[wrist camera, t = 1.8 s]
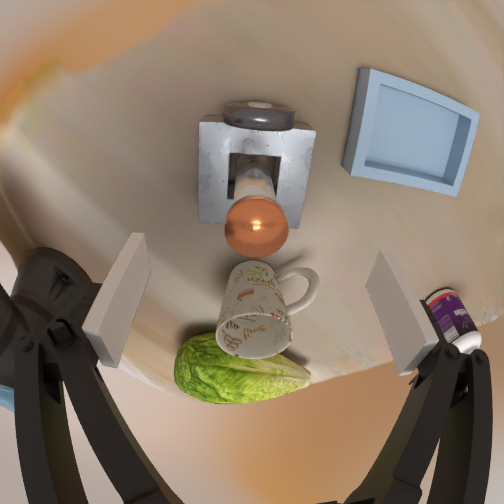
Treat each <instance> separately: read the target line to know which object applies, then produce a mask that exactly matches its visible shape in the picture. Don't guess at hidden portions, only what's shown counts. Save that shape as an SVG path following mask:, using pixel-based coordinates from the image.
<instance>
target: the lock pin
mask: <svg viewBox="0 0 504 504" xmlns="http://www.w3.org/2000/svg"><path fill="white" fill-rule="evenodd" d="M288 231H289V230H288V223H287V219H286V215H285V212H284V210H283V208H282V207H281V205H280V204H279V203H278V202H277V201H276V197H275V192H274V187H273V183H272V178H271V174H270V169H269V165H268V161H267V158H266V156H265V155H258V154H244V153H242V154H241V155H240V156H239V158H238V161H237V168H236V179H235V190H234V201H233V205H232V206H231V207H230V209H229V210H228V213H227V216H226V222H225V237H226V240H227V242H228V244H229V245H230V246H231V247H232V249H234V250H235V251H236V252H238V253H240V254H242V255H244V256H248V257H264V256H268V255H270V254H273V253H274V252H276V251H277V250H279V249H280V248H281V247H282V246H283V244H284V243H285V241H286V239H287V236H288Z"/></svg>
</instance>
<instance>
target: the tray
mask: <svg viewBox="0 0 504 504" xmlns="http://www.w3.org/2000/svg"><path fill="white" fill-rule="evenodd" d="M479 116H480V113H478V112H476V111H474V110H472V109H470V108H469V107H467V106H465V105H463V104H461V103H459V102H457V101H455V100H452V99H450V98H448V97H446V96H444V95H442V94H439V93H437V92H435V91H432V90H430V89H428V88H425V87H423V86H420V85H418V84H415V83H413V82H410V81H407V80H404V79H402V78H399V77H396V76H393V75H390V74H387V73H384V72H381V71H377V70H374V69H370V68H359V71H358V77H357V84H356V91H355V97H354V103H353V109H352V115H351V120H350V126H349V131H348V136H347V141H346V147H345V151H344V156H343V161H342V166H343V168H344V169H345V170H346V171H347V172H348V173H349V174H350V175H351V176H357V177H363V178H369V179H375V180H381V181H386V182H391V183H397V184H402V185H407V186H411V187H416V188H421V189H425V190H430V191H434V192H438V193H443V194H447V195H451V196H455V197H456V196H457V193H458V191H459V188H460V185H461V182H462V179H463V176H464V173H465V170H466V166H467V163H468V160H469V156H470V153H471V149H472V145H473V141H474V138H475V134H476V129H477V125H478V120H479Z"/></svg>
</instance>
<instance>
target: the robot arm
mask: <svg viewBox="0 0 504 504" xmlns="http://www.w3.org/2000/svg"><path fill="white" fill-rule="evenodd" d="M150 274H151V270H150V264H149V258H148V252H147V246H146V239H145V233H131V235H130V237H129V238H128V240H127V242H126V243H125V245H124V247H123V248H122V250H121V252H120V254H119V255H118V257H117V259H116V261H115V263H114V264H113V266H112V268H111V270H110V272H109V274H108V275H107V277H106V279H105V281H104V283H103V284H100V283H94V284H92V282H91V281H90V279H89V278H88V276H87V275H86V274H85V272H84V271H83V270H82V269H81V268H80V267H79V266H78V265H77V264H76V263H75V262H73V261H72V260H71V259H69V258H68V257H67V256H65V255H63V254H61V253H59V252H57V251H55V250H52V249H48V248H36V249H33V250H32V251H30V252H29V253H28V254H27V256H26V257H25V258H24V259H23V261H22V262H21V264H20V266H19V270H18V276H17V278H16V281H15V284H14V287H13V290H12V293H11V296H10V297H9V296H8V294H7V293H6V291H5V290H4V288H3V287H2V285H1V283H0V405H1V406H3V407H4V408H6V409H8V410H10V411H12V412H14V413H15V426H16V438H17V446H18V454H19V460H20V466H21V472H22V477H23V482H24V486H25V490H26V495H27V498H28V502H29V504H88V500H87V498H86V495H85V491H84V488H83V485H82V482H81V478H80V475H79V471H78V467H77V463H76V459H75V455H74V451H73V446H72V441H71V437H70V431H69V426H68V420H67V413H66V406H65V399H64V390H63V381H64V384H65V386H66V389H67V392H68V394H69V397H70V400H71V402H72V405H73V407H74V410H75V412H76V414H77V416H78V419H79V421H80V424H81V425H82V428H83V430H84V432H85V434H86V436H87V438H88V441H89V443H90V445H91V447H92V449H93V451H94V452H95V454H96V456H97V458H98V460H99V462H100V464H101V465H102V467H103V469H104V471H105V472H106V474H107V476H108V477H109V479H110V481H111V482H112V484H113V485H114V487H115V489H116V490H117V492H118V493H119V495H120V496H121V498H122V500H123V502H124V504H184V503H183V502H182V500H181V499H180V498H179V497H178V496H177V495H176V494H175V493H174V492H173V491H172V490H171V488H170V487H169V486H168V485H167V483H166V482H165V481H164V479H163V478H162V477H161V476H160V474H159V473H158V471H157V470H156V469H155V467H154V466H153V464H152V463H151V461H150V460H149V459H148V457H147V456H146V454H145V453H144V451H143V450H142V448H141V446H140V445H139V443H138V442H137V440H136V439H135V437H134V435H133V434H132V432H131V431H130V429H129V427H128V425H127V424H126V422H125V420H124V418H123V417H122V415H121V413H120V412H119V410H118V408H117V406H116V404H115V402H114V400H113V398H112V396H111V394H110V393H109V390H108V388H107V386H106V384H105V382H104V380H103V378H102V376H101V374H100V372H99V370H98V368H97V366H96V365H97V362H98V359H99V360H100V362H101V363H102V365H104V366H108V367H113V368H118V365H119V362H120V358H121V355H122V352H123V349H124V346H125V343H126V340H127V337H128V334H129V331H130V328H131V325H132V322H133V319H134V316H135V314H136V311H137V308H138V305H139V303H140V300H141V297H142V294H143V292H144V289H145V287H146V284H147V281H148V279H149V276H150ZM365 286H366V288H367V290H368V293H369V295H370V298H371V300H372V303H373V305H374V308H375V310H376V313H377V315H378V318H379V320H380V323H381V326H382V328H383V331H384V334H385V336H386V339H387V342H388V345H389V347H390V350H391V353H392V356H393V359H394V362H395V365H396V368H397V371H398V374H399V375H407V374H411V373H412V372H413V371H414V370H415V368H418V371H419V373H418V374H417V375H416V376H415V377H414V378H413V379H412V380H411V381H410V383H409V385H411V384H412V383H413V385H412V388H411V390H410V392H409V395H408V397H407V399H406V402H405V404H404V406H403V408H402V411H401V413H400V415H399V417H398V419H397V421H396V424H395V425H394V427H393V430H392V431H391V433H390V435H389V437H388V439H387V441H386V443H385V445H384V447H383V448H382V450H381V452H380V454H379V456H378V458H377V459H376V461H375V462H374V464H373V466H372V468H371V469H370V471H369V472H368V474H367V476H366V478H365V479H364V480H363V482H362V483H361V485H360V486H359V487H358V488H357V489H356V490H354V491H353V492H352V493H351V494H350V495H349V497H348V498H347V499H346V501H345V502H344V503H343V504H418V503H419V500H420V498H421V496H422V490H421V488H420V484H421V481H422V479H423V477H424V475H425V473H426V470H427V468H428V466H429V464H430V461H431V459H432V456H433V454H434V451H435V449H436V446H437V444H438V441H439V438H440V443H439V449H438V455H437V461H436V466H435V471H434V476H433V480H432V485H431V489H430V493H429V496H428V500H427V504H484V501H485V496H486V489H487V484H488V477H489V469H490V461H491V448H492V426H493V425H492V424H493V423H492V422H493V410H492V388H491V387H492V386H491V375H490V364H489V359H488V356H487V355H486V353H485V352H484V351H483V350H481V349H474V350H473V351H472V353H471V354H465V353H460V350H459V349H458V347H457V346H455V345H454V344H452V343H448V342H447V340H446V338H445V336H444V334H443V332H442V330H441V328H440V326H439V324H438V322H436V318H435V316H433V312H432V311H431V309H430V307H429V306H428V305H427V304H426V302H425V301H424V300H419V299H418V297H417V295H416V293H415V291H414V289H413V288H412V286H411V284H410V282H409V280H408V279H407V277H406V275H405V273H404V272H403V270H402V268H401V267H400V265H399V263H398V262H397V260H396V258H395V257H394V255H393V253H392V252H391V251H390V250H380V251H379V253H378V256H377V259H376V261H375V264H374V266H373V268H372V271H371V273H370V276H369V278H368V280H367V283H366V285H365ZM467 387H468V391H467ZM440 435H441V436H440ZM318 504H340V503H337V501H331V502H325V503H318Z"/></svg>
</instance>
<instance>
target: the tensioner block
mask: <svg viewBox="0 0 504 504" xmlns="http://www.w3.org/2000/svg"><path fill="white" fill-rule="evenodd" d="M294 117H295V110H293V109H291V108H287V107H283V106H278V105H272V104H270V103H264V102H233V103H226V104H225V105H224V116H216V115H206V116H205V117H204V118H203V119H202V120H201V121H200V123H199V164H198V219H199V222H200V223H219V224H225V222H226V216H227V213H228V210H229V209H230V207H231V206H232V205H233V201H234V190H235V184H234V183H229V175H230V158H231V153H244V154H258V155H269V156H276V159H275V167H274V175H273V187H274V192H275V197H276V201H277V202H278V203H279V204H280V205H281V207H282V208H283V210H284V212H285V215H286V219H287V223H288V228H295V229H299V224H300V219H301V213H302V208H303V203H304V198H305V192H306V187H307V181H308V176H309V170H310V164H311V159H312V153H313V147H314V141H315V134H316V131H315V130H314V129H312V128H311V127H310V126H309V125H308V124H307V123H300V122H294Z"/></svg>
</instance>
